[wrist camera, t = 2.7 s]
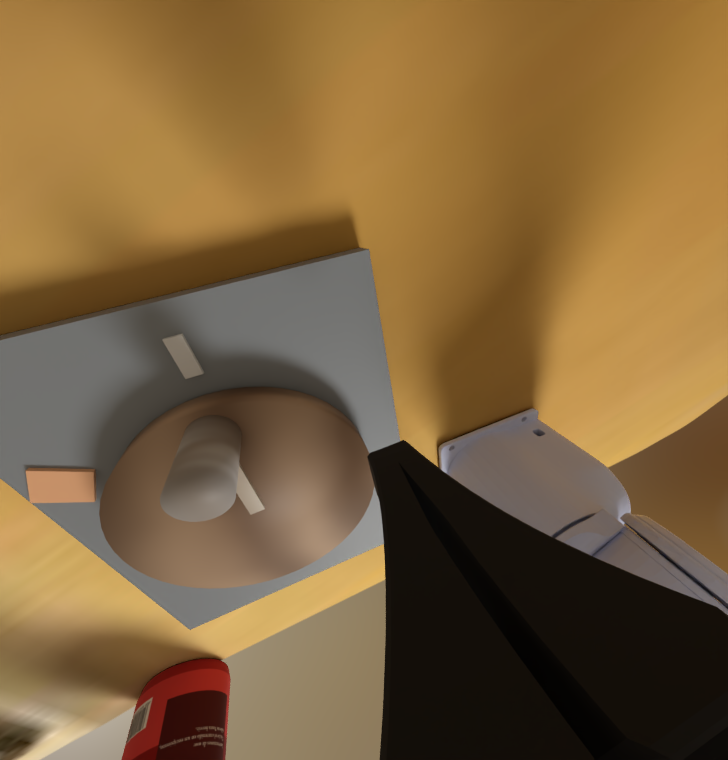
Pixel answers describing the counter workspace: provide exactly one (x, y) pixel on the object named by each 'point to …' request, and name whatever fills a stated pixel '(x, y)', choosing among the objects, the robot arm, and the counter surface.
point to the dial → (237, 488)
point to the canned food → (182, 714)
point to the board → (190, 394)
